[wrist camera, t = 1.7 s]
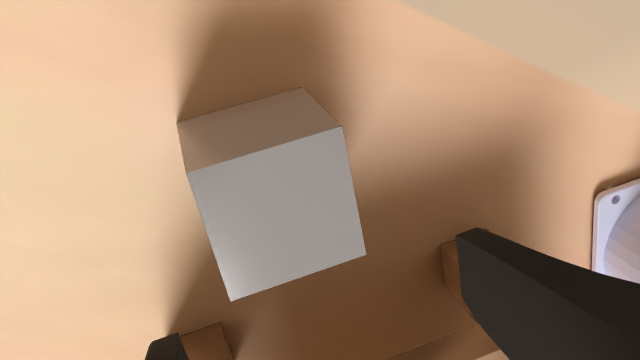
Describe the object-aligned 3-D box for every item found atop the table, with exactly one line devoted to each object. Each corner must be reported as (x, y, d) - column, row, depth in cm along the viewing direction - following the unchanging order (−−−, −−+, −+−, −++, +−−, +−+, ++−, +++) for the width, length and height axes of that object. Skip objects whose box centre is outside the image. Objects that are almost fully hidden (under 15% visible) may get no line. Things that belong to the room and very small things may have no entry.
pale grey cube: (301, 86, 22) (342, 126, 17) (325, 195, 24) (366, 254, 20) (176, 121, 21) (186, 173, 17) (213, 231, 23) (230, 301, 19)
